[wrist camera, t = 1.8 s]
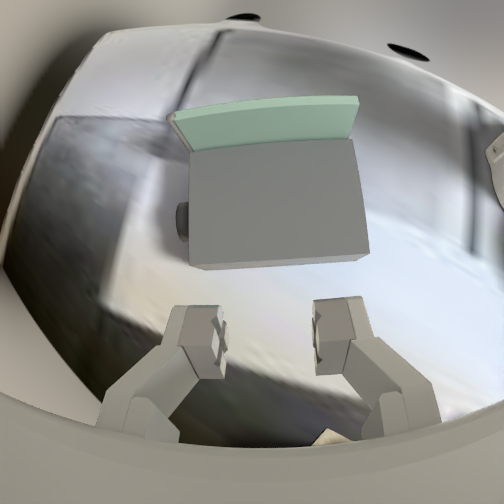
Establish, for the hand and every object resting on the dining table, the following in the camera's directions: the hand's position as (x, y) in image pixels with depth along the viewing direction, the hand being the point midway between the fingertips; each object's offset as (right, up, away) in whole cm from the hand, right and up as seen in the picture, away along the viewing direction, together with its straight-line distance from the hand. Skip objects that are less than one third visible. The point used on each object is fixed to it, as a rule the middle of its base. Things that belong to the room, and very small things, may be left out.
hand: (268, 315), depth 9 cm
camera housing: (+3, +7, +31) cm, 31 cm away
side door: (+2, +15, +32) cm, 35 cm away
